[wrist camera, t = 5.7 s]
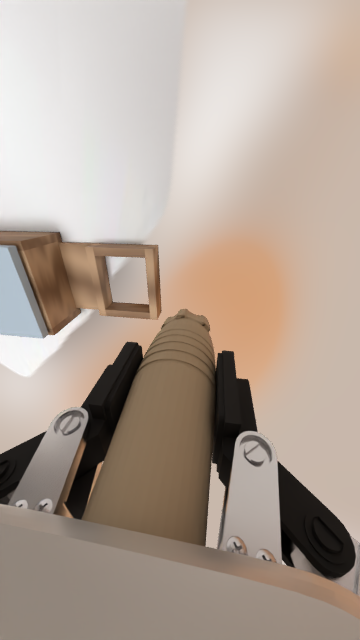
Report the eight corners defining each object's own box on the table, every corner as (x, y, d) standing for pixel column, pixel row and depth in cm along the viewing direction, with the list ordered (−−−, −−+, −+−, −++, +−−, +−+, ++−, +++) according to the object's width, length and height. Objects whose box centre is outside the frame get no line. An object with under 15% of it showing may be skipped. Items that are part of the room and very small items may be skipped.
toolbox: (-67, 229, 30) (-131, 236, 25) (157, 234, 26) (141, 244, 21) (-27, 304, 36) (-70, 323, 31) (161, 318, 32) (150, 344, 27)
